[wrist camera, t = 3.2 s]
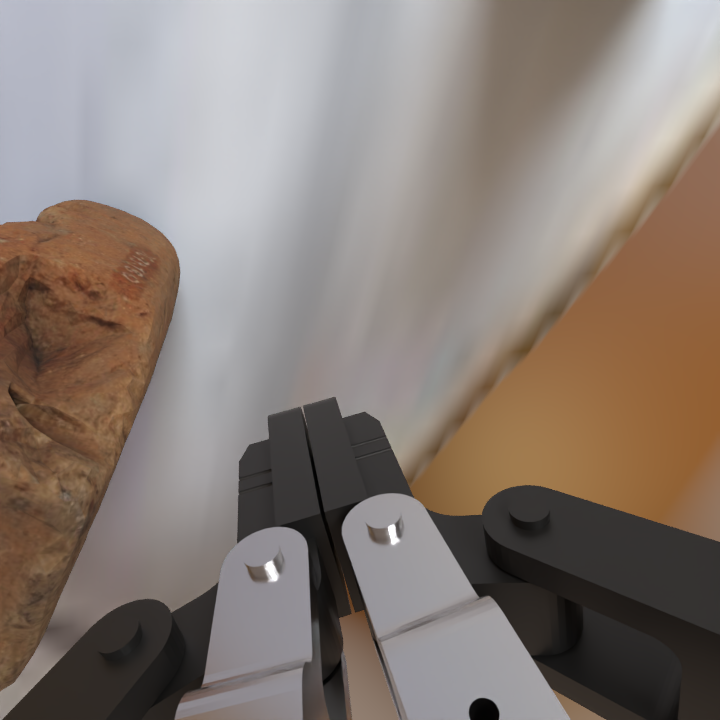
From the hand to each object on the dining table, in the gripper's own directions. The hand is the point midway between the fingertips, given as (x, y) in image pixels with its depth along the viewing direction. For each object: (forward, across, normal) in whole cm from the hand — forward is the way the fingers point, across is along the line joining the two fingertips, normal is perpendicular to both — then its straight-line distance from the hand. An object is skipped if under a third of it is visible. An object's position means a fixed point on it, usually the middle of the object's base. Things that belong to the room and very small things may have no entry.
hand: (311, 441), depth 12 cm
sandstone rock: (+20, +10, 0) cm, 22 cm away
